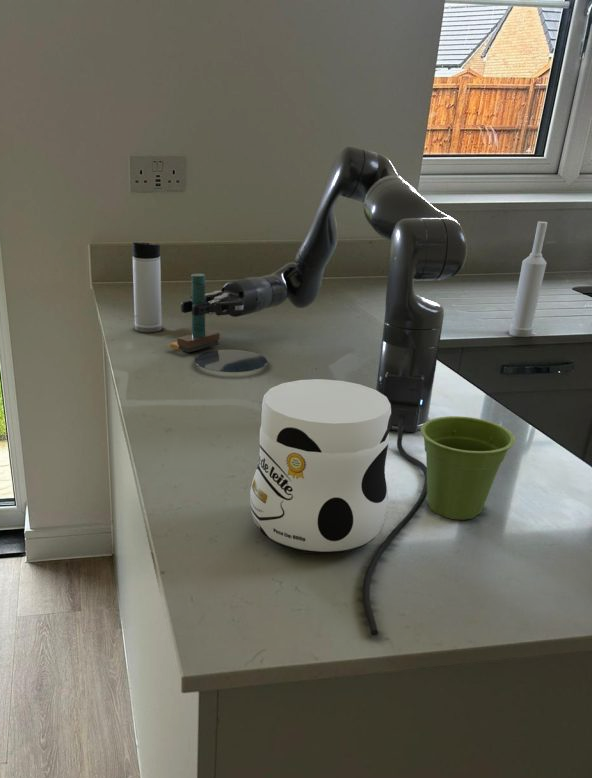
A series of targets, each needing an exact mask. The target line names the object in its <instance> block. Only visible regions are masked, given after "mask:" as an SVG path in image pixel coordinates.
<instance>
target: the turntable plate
mask: <svg viewBox="0 0 592 778" xmlns="http://www.w3.org/2000/svg"><path fill="white" fill-rule="evenodd" d="M194 363H195V364H196V365H197V366H198V367H200V368H203V369H205V370H209V371H213V372H221V373H245V372H252V371H256V370H259V369H262V368H264V367H265V366H266V365H267V364H268V359H267V357H265V356H264V355H262V354H259V353H257V352H253V351H249V350H242V349H216V350H210V351H205V352H202V353H200V354H198V355H197V356H195V358H194Z"/></svg>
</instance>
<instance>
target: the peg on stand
mask: <svg viewBox="0 0 592 778" xmlns="http://www.w3.org/2000/svg"><path fill="white" fill-rule="evenodd" d="M190 276H191V296H192V306H193V305H195V304H199V303H204V302H205V294H206V274H204V273H192V274H191V275H190ZM176 338H177V339H176V340H177V341H176V342H177V345H179V350H178V351H180V350H183V351H182V352H185V353H192V352H195V351H199V350H203V349H206V348H210V347H214V346H217V345H219V341H220V332H218V331H214V330H210V329H206V314H203V315H199V316H194V315H192V314H191V334H187V335H183V336H179V337H176Z"/></svg>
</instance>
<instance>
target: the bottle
mask: <svg viewBox="0 0 592 778" xmlns="http://www.w3.org/2000/svg"><path fill="white" fill-rule="evenodd" d="M547 227H548V222H547V221H537V224H536V229H535V236H534V239H533V246H532V250H531V252H530V253H529V256H527V257H526V258H525V259H523V260H522V262H521V269H520V274H519V279H518V285H517V290H516V295H515V302H514V308H513V312H512V313H513V314H512V319H511V324H510V325H509V329H508V334H509V335H510V336H513V337H517V338H529V337H531V335H532V334H533V333H532V332H533V329H534V327H533V323H534V319H535V315H536V310H537V307H538V302H539V298H540V293H541V289H542V286H543V281H544V276H545V271H546V268H547V261H546V260H545V258H544V257H543V254H542V250H543V246H544V240H545V236H546V232H547Z"/></svg>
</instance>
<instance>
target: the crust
mask: <svg viewBox="0 0 592 778" xmlns="http://www.w3.org/2000/svg"><path fill="white" fill-rule="evenodd" d="M169 347H170V348H172V349H175V350H177V351H180V352H184V351H183V350H179V345H177V341H174V342H169Z"/></svg>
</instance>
